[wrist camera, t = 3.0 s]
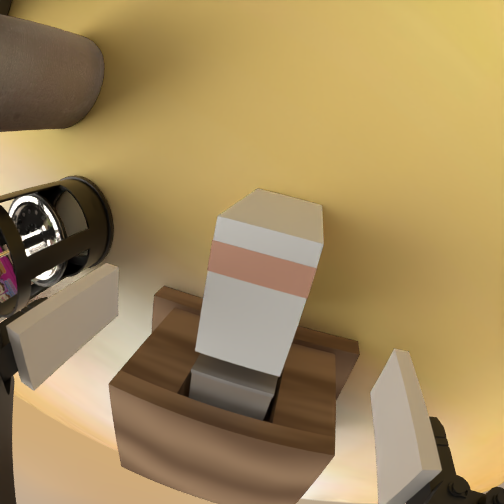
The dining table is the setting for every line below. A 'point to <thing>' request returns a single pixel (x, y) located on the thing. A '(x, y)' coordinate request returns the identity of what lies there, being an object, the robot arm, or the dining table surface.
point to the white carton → (259, 279)
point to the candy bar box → (6, 279)
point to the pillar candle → (45, 76)
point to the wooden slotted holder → (227, 411)
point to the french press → (51, 237)
